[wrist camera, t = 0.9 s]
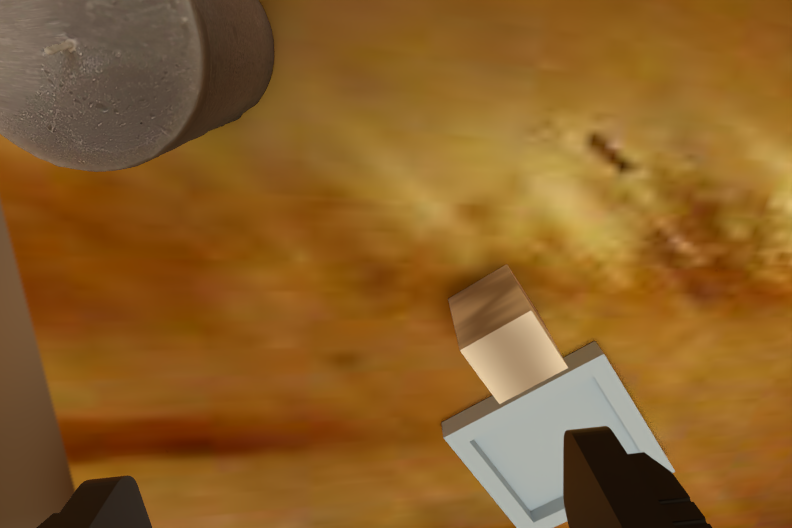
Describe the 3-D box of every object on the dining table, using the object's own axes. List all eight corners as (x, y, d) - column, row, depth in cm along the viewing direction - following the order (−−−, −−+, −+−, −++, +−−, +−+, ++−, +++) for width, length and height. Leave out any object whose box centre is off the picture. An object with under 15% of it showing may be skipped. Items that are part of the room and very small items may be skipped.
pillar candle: (248, 149, 34) (157, 221, 20) (97, 87, 33) (-114, 120, 19) (297, -4, 31) (228, -41, 17) (130, -81, 29) (-96, -193, 15)
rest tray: (595, 340, 40) (604, 353, 39) (664, 455, 45) (675, 471, 44) (441, 422, 43) (443, 437, 42) (521, 522, 48) (526, 539, 46)
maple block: (506, 263, 38) (531, 310, 31) (539, 314, 40) (568, 367, 33) (447, 298, 39) (459, 350, 32) (481, 346, 41) (499, 404, 34)
